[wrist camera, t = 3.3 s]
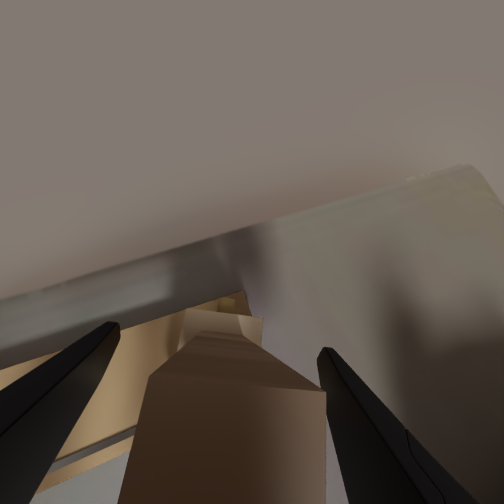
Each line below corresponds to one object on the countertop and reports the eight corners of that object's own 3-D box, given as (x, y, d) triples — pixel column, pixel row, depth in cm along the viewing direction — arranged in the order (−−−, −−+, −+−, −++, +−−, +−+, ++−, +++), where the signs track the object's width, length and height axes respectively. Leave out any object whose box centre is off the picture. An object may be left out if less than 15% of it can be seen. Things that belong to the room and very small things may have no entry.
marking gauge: (248, 392, 14) (437, 843, 2) (174, 386, 14) (-175, 962, 1) (258, 304, 16) (385, 265, 4) (193, 295, 16) (110, 218, 3)
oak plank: (241, 291, 17) (243, 290, 16) (269, 378, 16) (273, 384, 15) (-213, 441, 11) (-265, 456, 10) (-239, 609, 10) (-306, 653, 8)
